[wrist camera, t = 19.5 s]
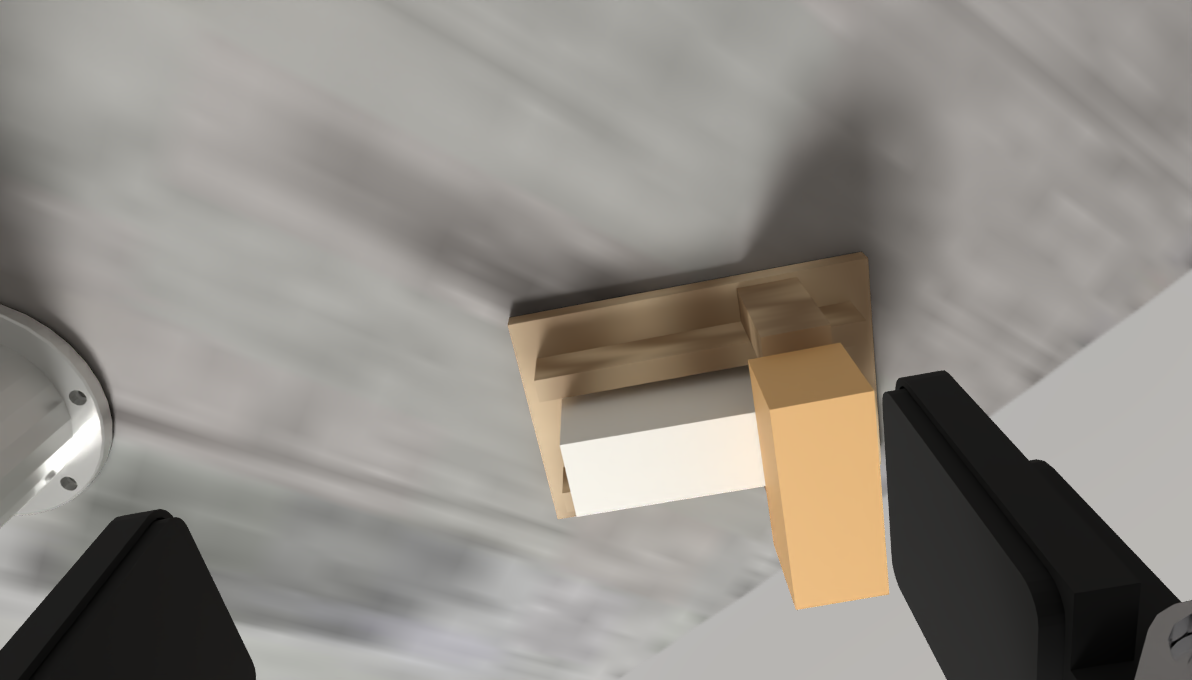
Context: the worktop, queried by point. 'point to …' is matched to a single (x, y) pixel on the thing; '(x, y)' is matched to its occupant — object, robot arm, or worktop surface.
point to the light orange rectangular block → (821, 474)
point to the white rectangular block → (661, 441)
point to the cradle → (686, 338)
